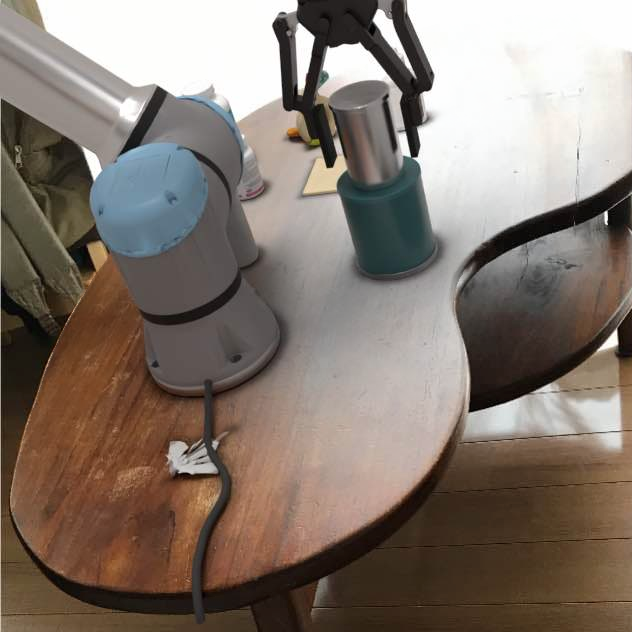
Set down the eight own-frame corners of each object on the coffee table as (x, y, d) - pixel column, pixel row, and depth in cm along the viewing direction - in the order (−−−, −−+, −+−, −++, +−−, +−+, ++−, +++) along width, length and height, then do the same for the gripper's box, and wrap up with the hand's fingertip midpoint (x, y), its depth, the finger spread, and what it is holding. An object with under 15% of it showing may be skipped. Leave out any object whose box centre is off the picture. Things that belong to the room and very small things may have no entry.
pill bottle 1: (229, 153, 139) (201, 72, 131) (259, 161, 135) (231, 78, 126) (194, 176, 136) (162, 95, 128) (223, 185, 131) (192, 102, 123)
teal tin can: (433, 276, 102) (415, 194, 95) (350, 283, 104) (327, 204, 97) (441, 228, 109) (426, 149, 102) (364, 236, 112) (344, 159, 105)
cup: (403, 188, 96) (384, 104, 90) (344, 195, 98) (321, 113, 92) (410, 157, 101) (393, 75, 95) (354, 164, 103) (334, 84, 97)
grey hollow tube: (253, 267, 112) (227, 198, 105) (221, 269, 113) (193, 201, 107) (263, 247, 115) (238, 178, 109) (231, 249, 117) (205, 182, 110)
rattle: (327, 120, 141) (308, 51, 133) (347, 136, 134) (329, 65, 127) (285, 137, 139) (264, 68, 132) (303, 155, 133) (282, 83, 126)
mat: (371, 188, 121) (370, 185, 120) (303, 196, 123) (302, 193, 123) (382, 152, 128) (381, 150, 128) (317, 160, 131) (316, 158, 130)
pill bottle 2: (267, 181, 129) (250, 129, 124) (261, 198, 126) (243, 145, 120) (237, 186, 130) (218, 134, 125) (230, 202, 127) (211, 150, 121)
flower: (209, 426, 92) (203, 405, 91) (256, 456, 87) (251, 435, 86) (149, 463, 88) (142, 442, 87) (195, 497, 83) (189, 475, 82)
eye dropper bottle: (425, 128, 131) (410, 50, 123) (389, 133, 132) (372, 56, 125) (428, 114, 134) (414, 38, 126) (393, 119, 135) (376, 44, 128)
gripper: (438, -86, 84) (472, 128, 98) (229, -45, 90) (289, 152, 104) (430, -62, 78) (467, 162, 92) (208, -19, 84) (274, 185, 98)
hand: (373, 156), depth 98 cm, fingers open, 9 cm apart
